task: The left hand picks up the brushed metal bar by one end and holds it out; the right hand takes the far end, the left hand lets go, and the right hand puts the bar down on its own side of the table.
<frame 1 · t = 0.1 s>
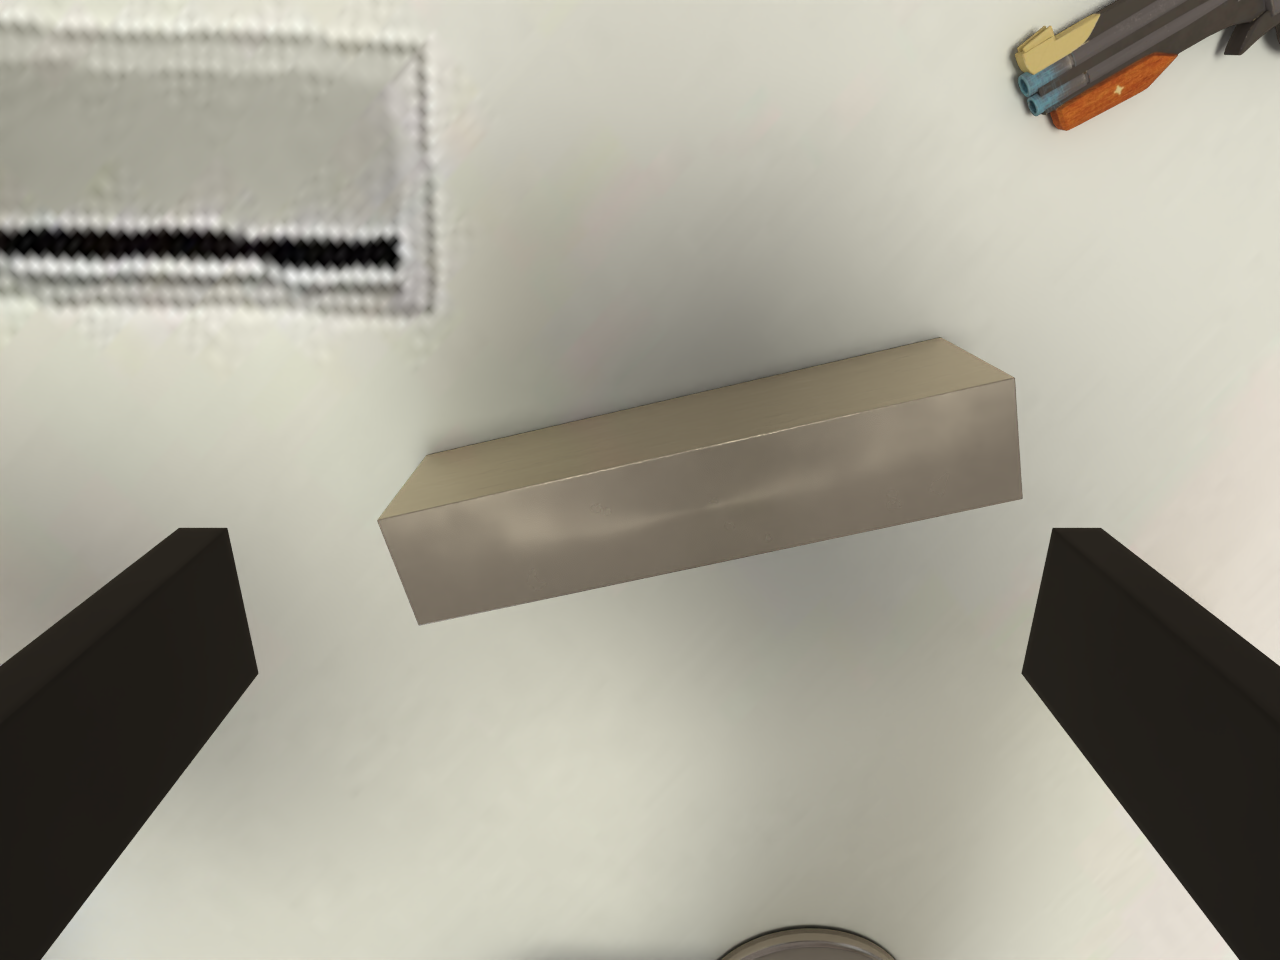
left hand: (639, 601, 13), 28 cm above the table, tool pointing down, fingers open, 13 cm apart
bar: (687, 446, 41), on the table
toy gun: (1245, 35, 34), on the table
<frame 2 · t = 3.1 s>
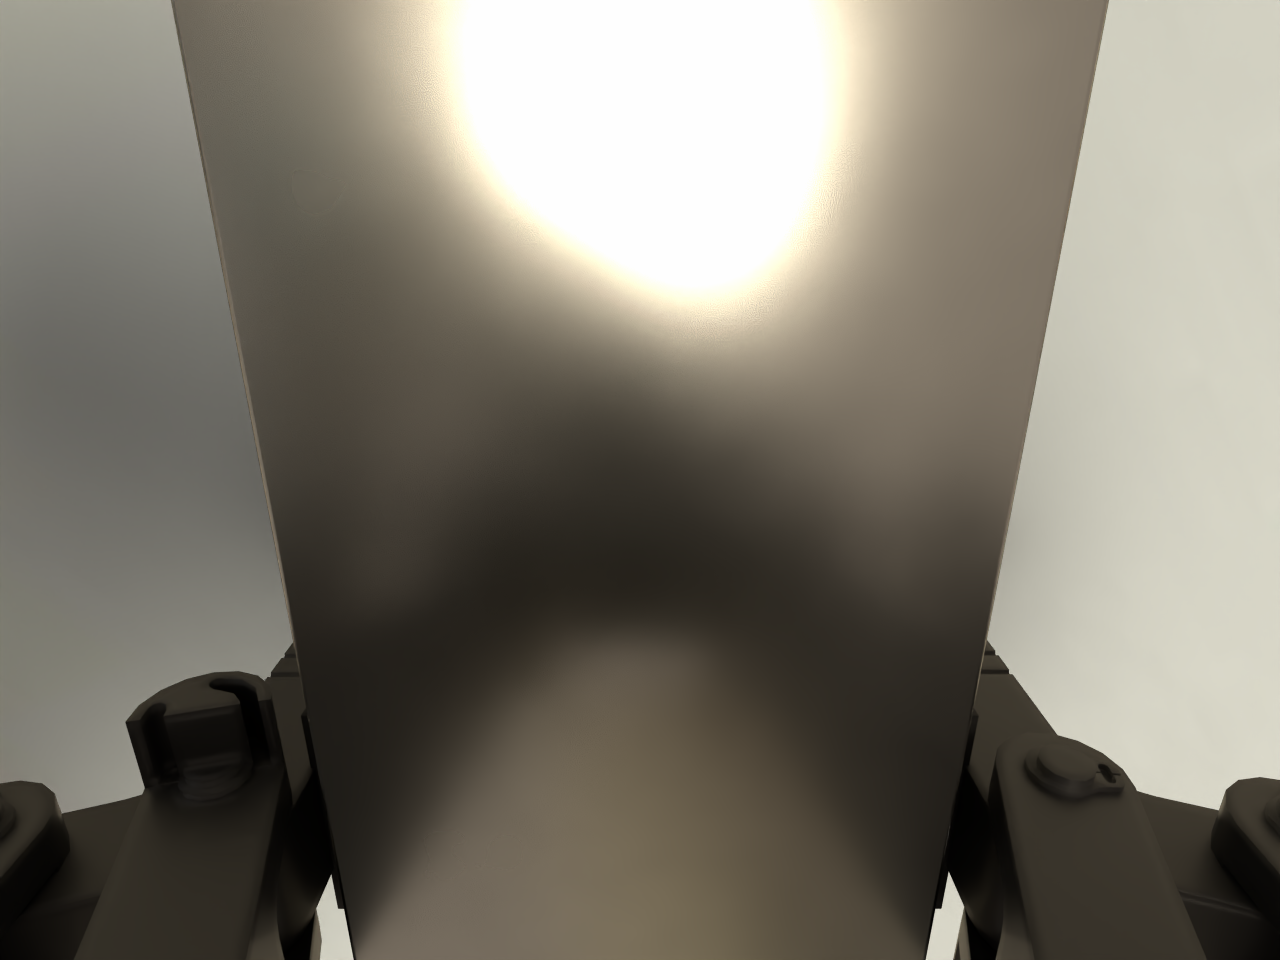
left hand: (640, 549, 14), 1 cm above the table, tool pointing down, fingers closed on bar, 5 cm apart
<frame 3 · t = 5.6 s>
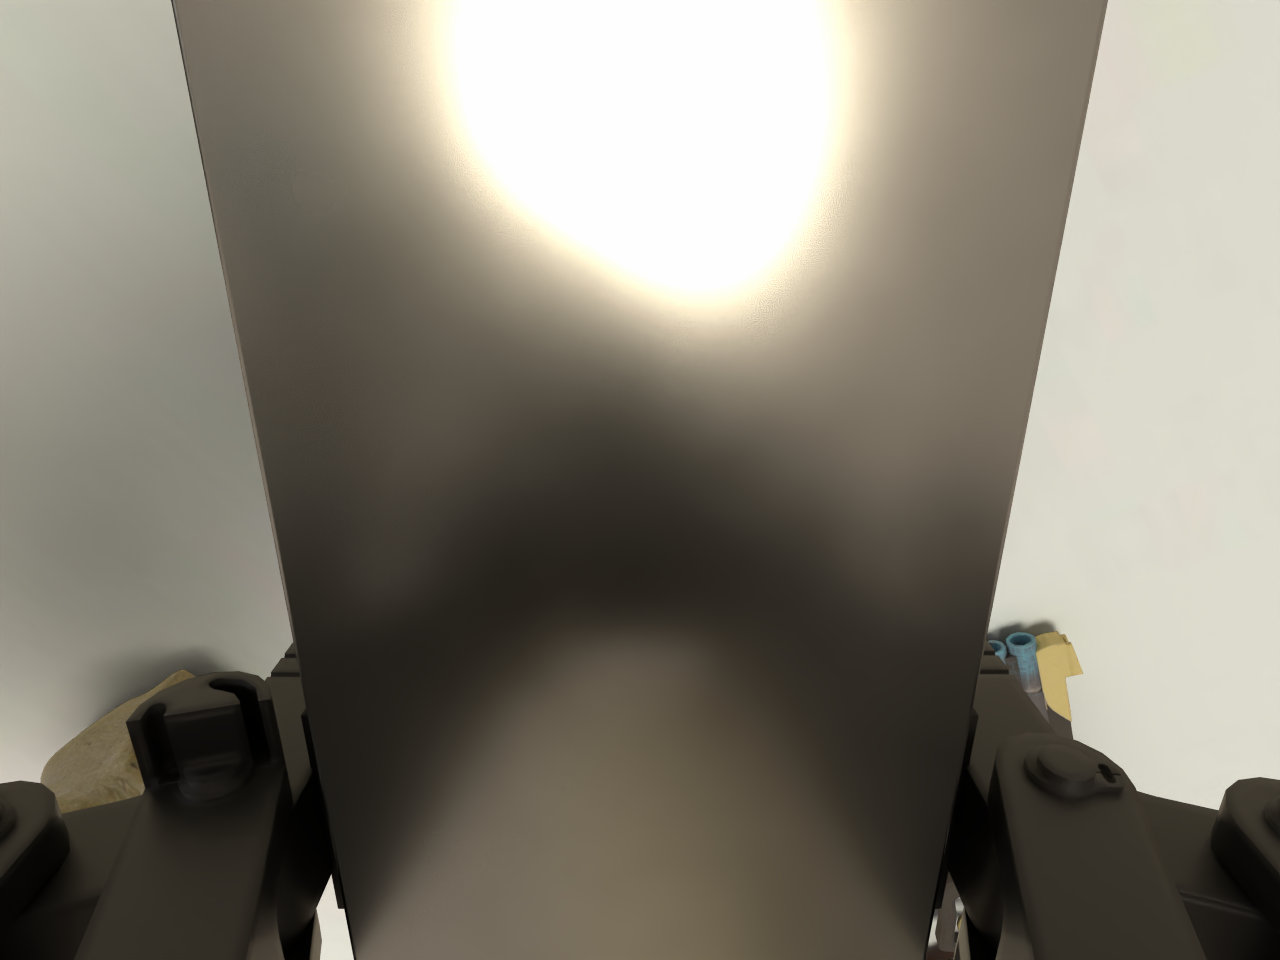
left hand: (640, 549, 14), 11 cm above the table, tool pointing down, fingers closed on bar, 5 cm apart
sculpture: (180, 723, 30), on the table
toy gun: (960, 836, 32), on the table
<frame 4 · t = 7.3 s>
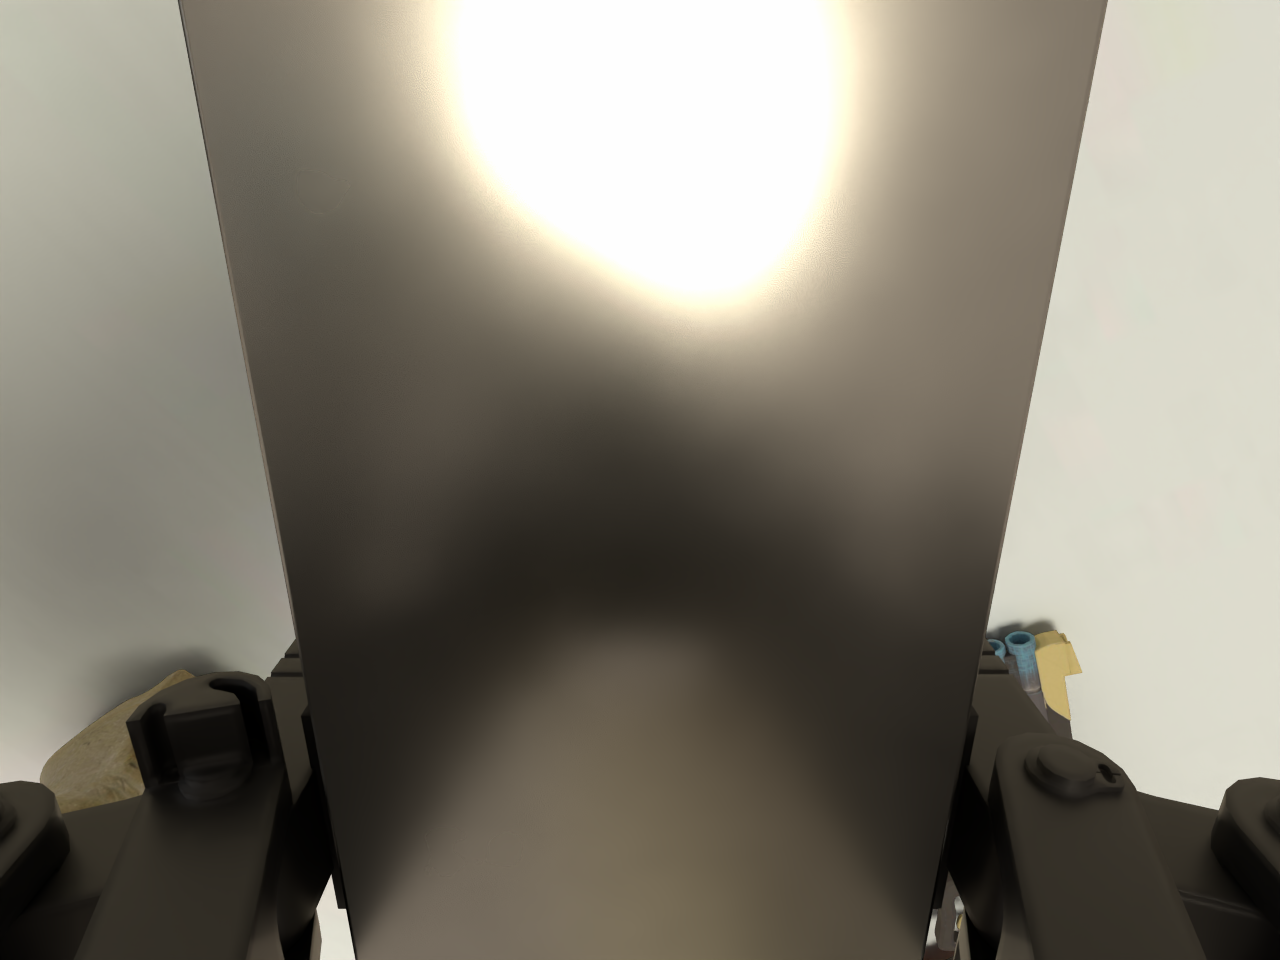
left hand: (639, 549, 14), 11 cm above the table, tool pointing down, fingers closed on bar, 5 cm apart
sculpture: (179, 723, 30), on the table
toy gun: (959, 835, 32), on the table
when the left hand's fingers open (11 cm above the table, at t = 8.1 s): bar stays where it is, held by the right hand.
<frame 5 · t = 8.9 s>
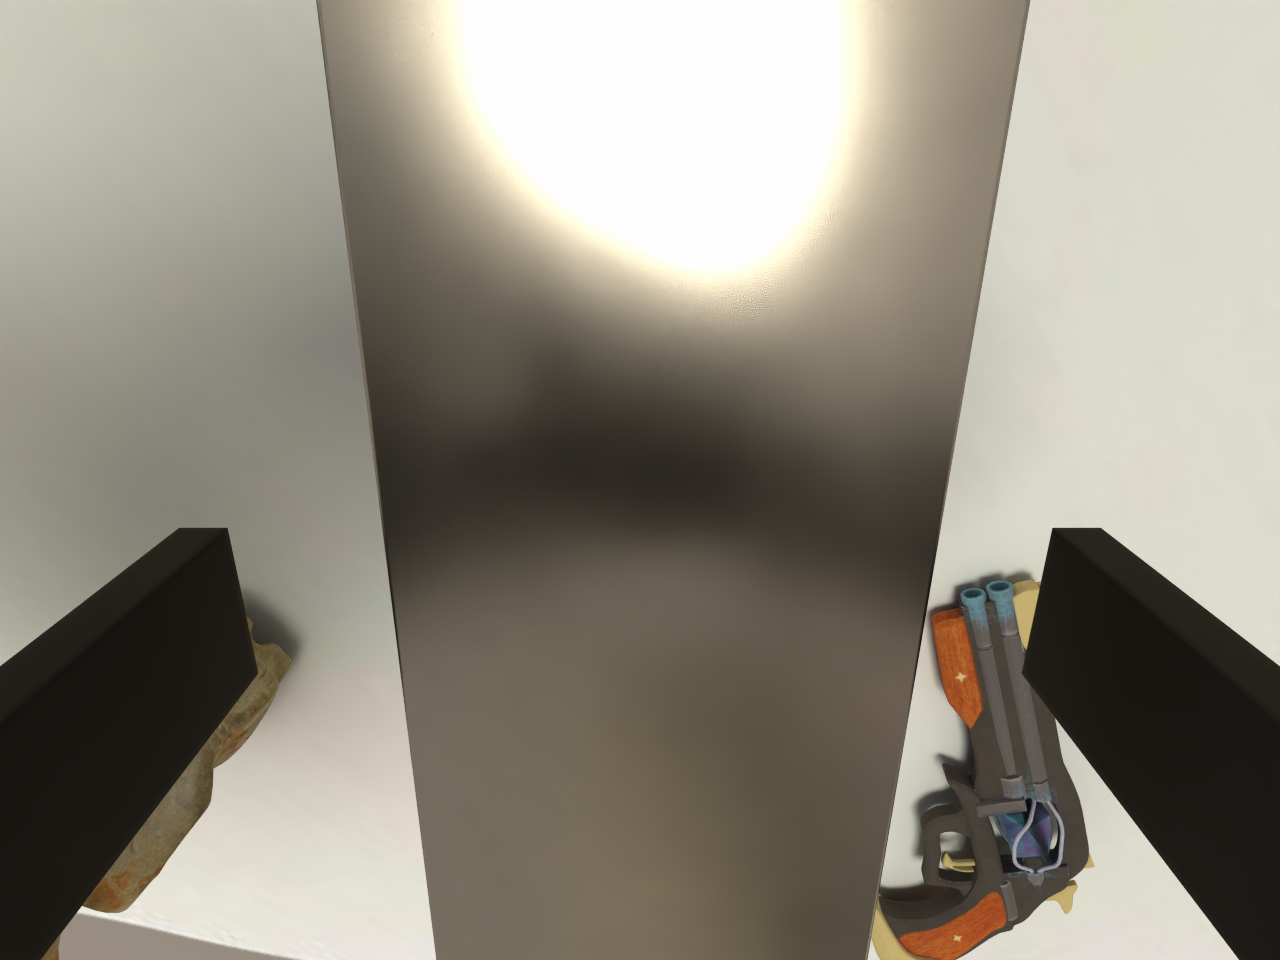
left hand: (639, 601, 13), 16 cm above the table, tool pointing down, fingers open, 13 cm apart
sculpture: (226, 659, 33), on the table
toy gun: (945, 777, 34), on the table
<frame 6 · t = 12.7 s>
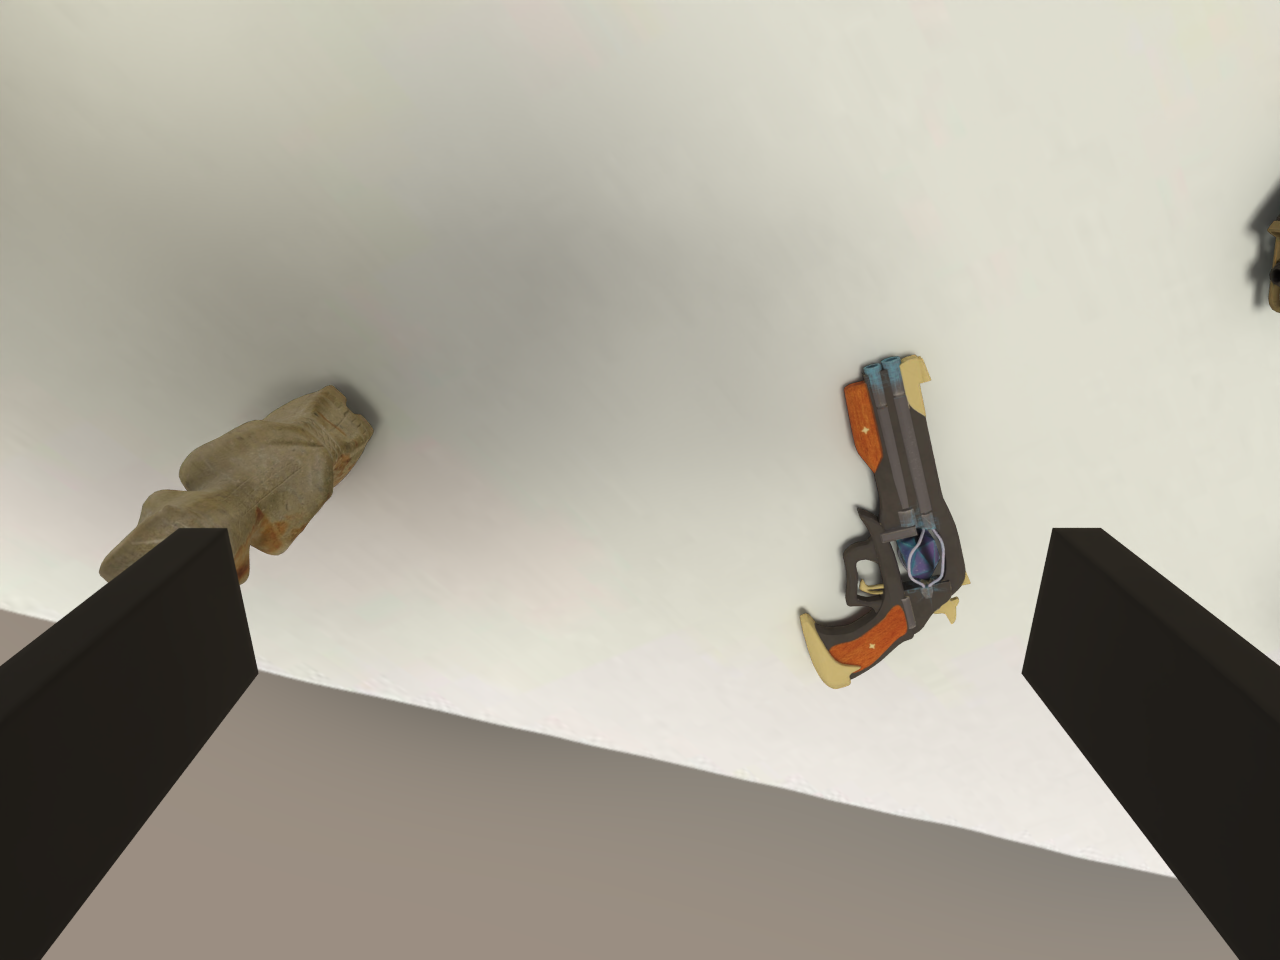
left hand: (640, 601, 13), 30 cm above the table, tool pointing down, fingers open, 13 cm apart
sculpture: (323, 434, 44), on the table
toy gun: (861, 524, 46), on the table
when the right hand's fingers open (5 cm above the table, at t = 18.4 s): bar stays where it is, on the table.
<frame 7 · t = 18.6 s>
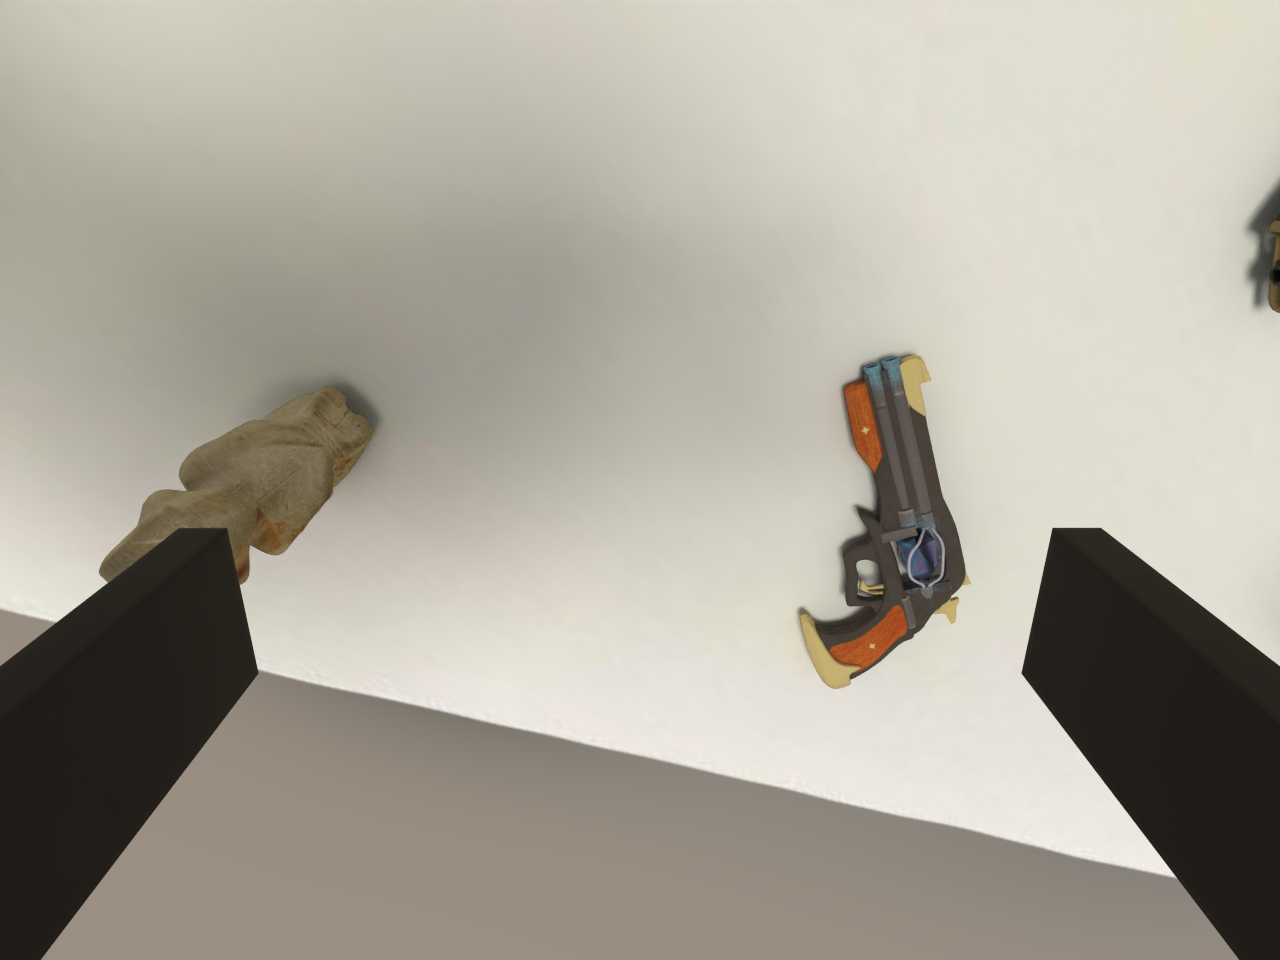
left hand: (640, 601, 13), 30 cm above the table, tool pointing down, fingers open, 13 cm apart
sculpture: (323, 434, 44), on the table
toy gun: (861, 524, 46), on the table
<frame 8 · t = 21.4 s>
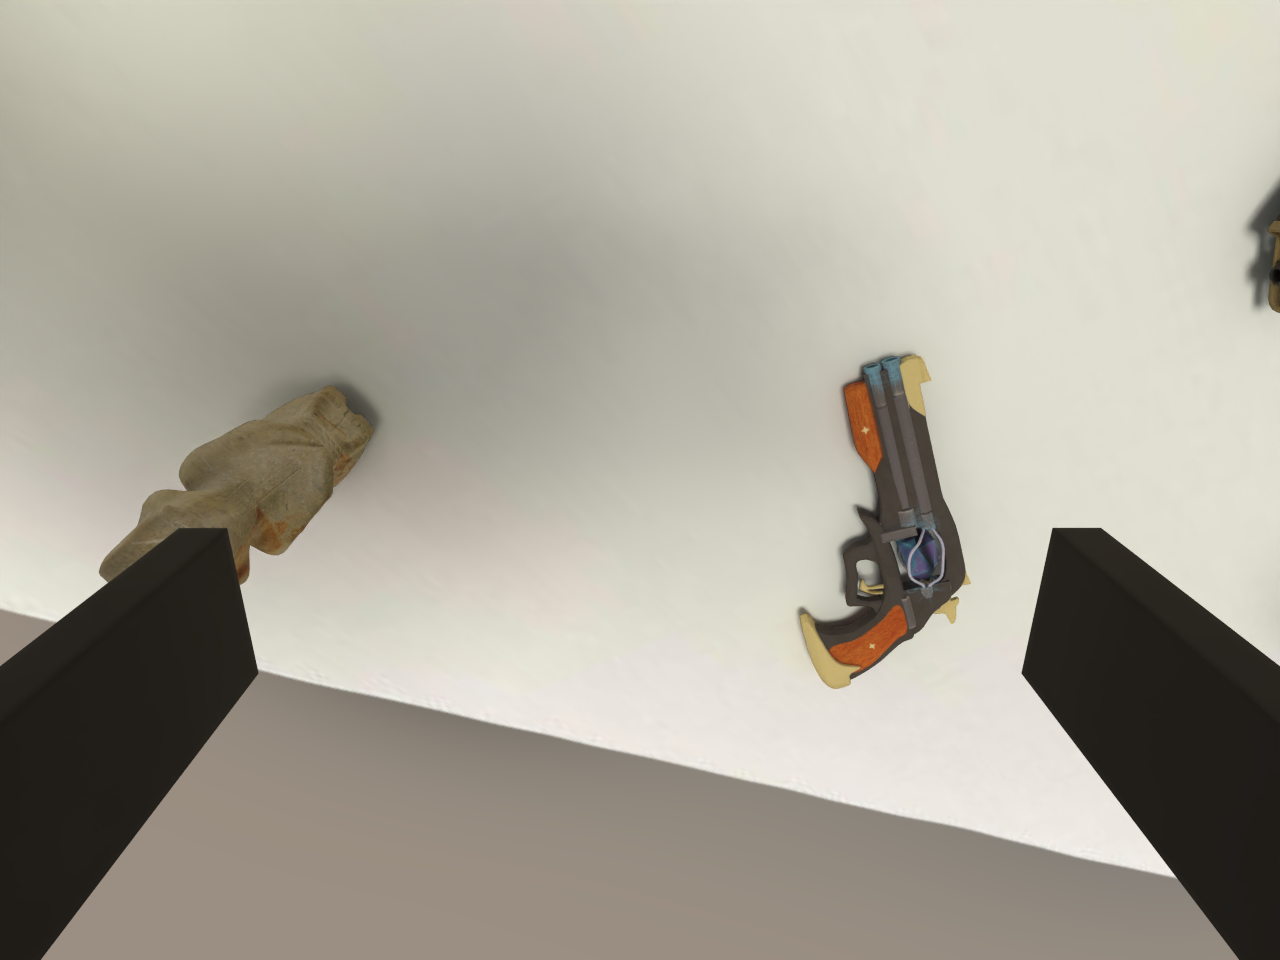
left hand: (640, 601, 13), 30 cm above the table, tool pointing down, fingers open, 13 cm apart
sculpture: (323, 434, 44), on the table
toy gun: (861, 524, 46), on the table
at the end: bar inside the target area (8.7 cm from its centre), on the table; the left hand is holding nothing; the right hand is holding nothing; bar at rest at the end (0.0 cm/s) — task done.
